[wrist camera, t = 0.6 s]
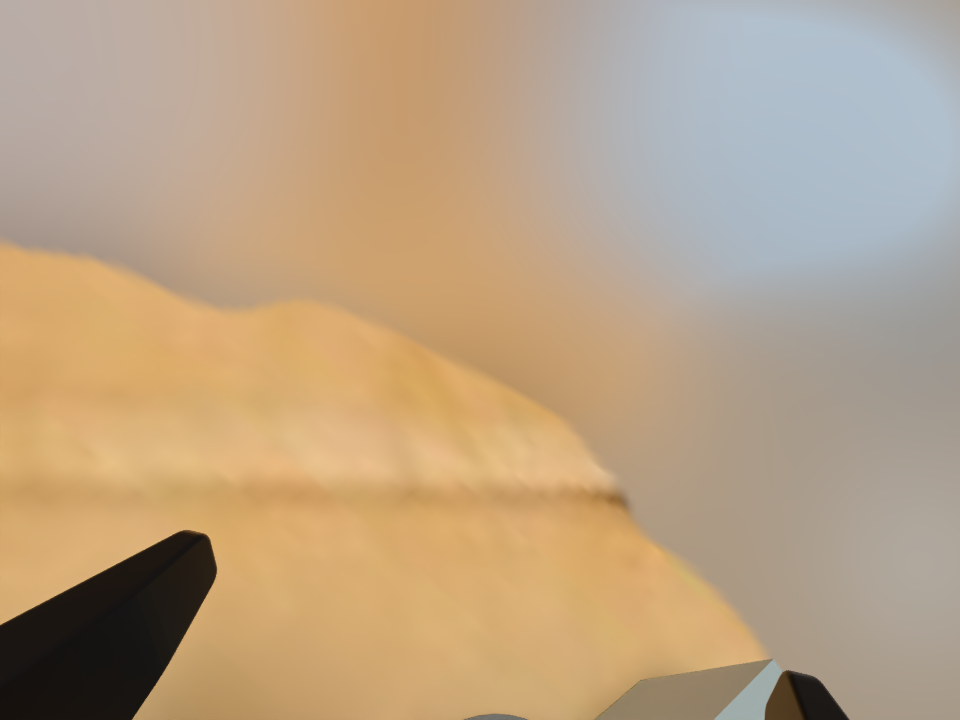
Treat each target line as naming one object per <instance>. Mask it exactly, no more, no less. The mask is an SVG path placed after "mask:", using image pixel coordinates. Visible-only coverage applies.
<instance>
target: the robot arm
mask: <svg viewBox="0 0 960 720" xmlns="http://www.w3.org/2000/svg"><path fill="white" fill-rule="evenodd" d="M216 574H217V565H216V561H215V557H214V553H213V549H212V545H211V541H210V539H209V537H208V536H207V535H206V534H203V533H199V532H195V531H191V530H183V531H180V532H177V533H175V534H174V535H172V536H170V537H168V538H166V539H164V540H162V541H160V542H158V543H156V544H154V545H152V546H151V547H149V548H147V549H145V550H143V551H141V552H139V553H137V554H135V555H133V556H131V557H129V558H128V559H126V560H124V561H122V562H120V563H118V564H116V565H114V566H112V567H110V568H108V569H107V570H105V571H103V572H101V573H99V574H97V575H95V576H93V577H91V578H89V579H87V580H85V581H84V582H82V583H80V584H78V585H76V586H74V587H72V588H70V589H68V590H66V591H64V592H62V593H61V594H59V595H57V596H55V597H53V598H51V599H49V600H47V601H45V602H43V603H41V604H39V605H38V606H36V607H34V608H32V609H30V610H28V611H26V612H24V613H22V614H20V615H18V616H16V617H15V618H13V619H11V620H9V621H7V622H5V623H3V624H1V625H0V720H132V719H133V717H134V716H135V714H136V713H137V711H138V710H139V708H140V707H141V705H142V704H143V702H144V701H145V699H146V698H147V696H148V695H149V694H150V692H151V691H152V689H153V688H154V686H155V685H156V683H157V681H158V680H159V678H160V677H161V675H162V674H163V672H164V671H165V669H166V667H167V666H168V664H169V662H170V660H171V659H172V657H173V655H174V654H175V652H176V650H177V648H178V646H179V644H180V643H181V641H182V639H183V637H184V635H185V634H186V632H187V630H188V628H189V626H190V625H191V623H192V621H193V619H194V617H195V616H196V614H197V612H198V610H199V608H200V607H201V605H202V603H203V601H204V599H205V598H206V596H207V594H208V592H209V590H210V588H211V587H212V585H213V583H214V580H215V578H216ZM765 720H849V718H848V717H847V716H846V714H845V713H844V712H843V710H842V709H841V708H840V706H839V705H838V704H837V702H836V701H835V700H834V698H833V697H832V696H831V694H830V693H829V692H828V690H827V689H826V688H825V686H824V685H823V684H822V683H821V682H820V681H819V680H818V679H817V678H815V677H813V676H810V675H807V674H802V673H798V672H794V671H789V670H788V671H785V672H782V674H781V675H780V677H779V679H778V681H777V683H776V685H775V687H774V689H773V691H772V693H771V695H770V697H769V699H768V701H767V704H766V707H765Z"/></svg>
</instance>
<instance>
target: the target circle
mask: <svg viewBox="0 0 960 720" xmlns="http://www.w3.org/2000/svg"><path fill="white" fill-rule="evenodd" d="M465 720H527V719H524V718H520V717H516V716H512V715H501V714H491V715H481V716H476V717H473V718H469V719H465Z"/></svg>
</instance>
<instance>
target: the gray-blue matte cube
mask: <svg viewBox="0 0 960 720" xmlns="http://www.w3.org/2000/svg"><path fill="white" fill-rule="evenodd" d="M782 672H783V671H782V670H781V668H780V667H779V666H778V664H777V663H776V661H775V660H774V659H769V660H763V661H757V662H751V663H745V664H739V665H732V666H726V667H720V668H714V669H708V670H702V671H695V672H689V673H683V674H677V675H671V676H664V677H658V678H652V679H646V680H641V681H639V682H638V683H637V684H636V685H635V686H634V687H632V688H631V689H630V690H629V691H628V692H627V693H625V694H624V695H623V696H622V697H621V698H620V699H619V700H617V701H616V702H615V703H614V704H613V705H612V706H610V707H609V708H608V709H607V710H606V711H605V712H603V713H602V714H601V715H600V716H599V717H598V718H596V719H595V720H765V707H766V704H767V701H768V699H769V697H770V695H771V693H772V691H773V689H774V687H775V685H776V683H777V681H778V679H779V677H780V675H781V674H782Z"/></svg>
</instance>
